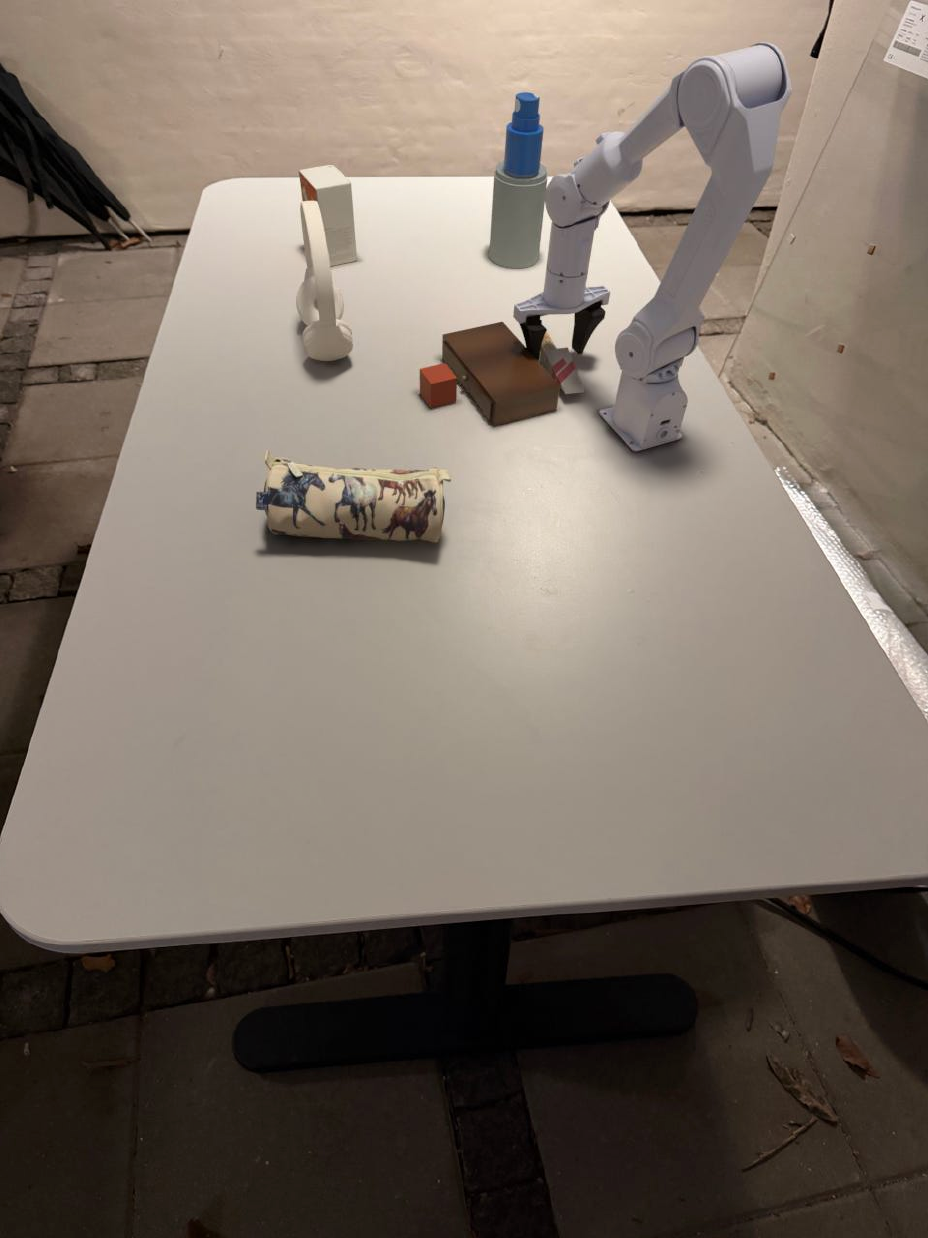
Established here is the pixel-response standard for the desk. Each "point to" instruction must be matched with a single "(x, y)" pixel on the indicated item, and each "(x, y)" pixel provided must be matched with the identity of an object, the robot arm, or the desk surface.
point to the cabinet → (500, 373)
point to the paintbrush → (561, 366)
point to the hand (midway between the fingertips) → (555, 356)
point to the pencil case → (352, 502)
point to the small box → (332, 209)
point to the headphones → (320, 294)
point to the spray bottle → (519, 189)
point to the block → (438, 385)
